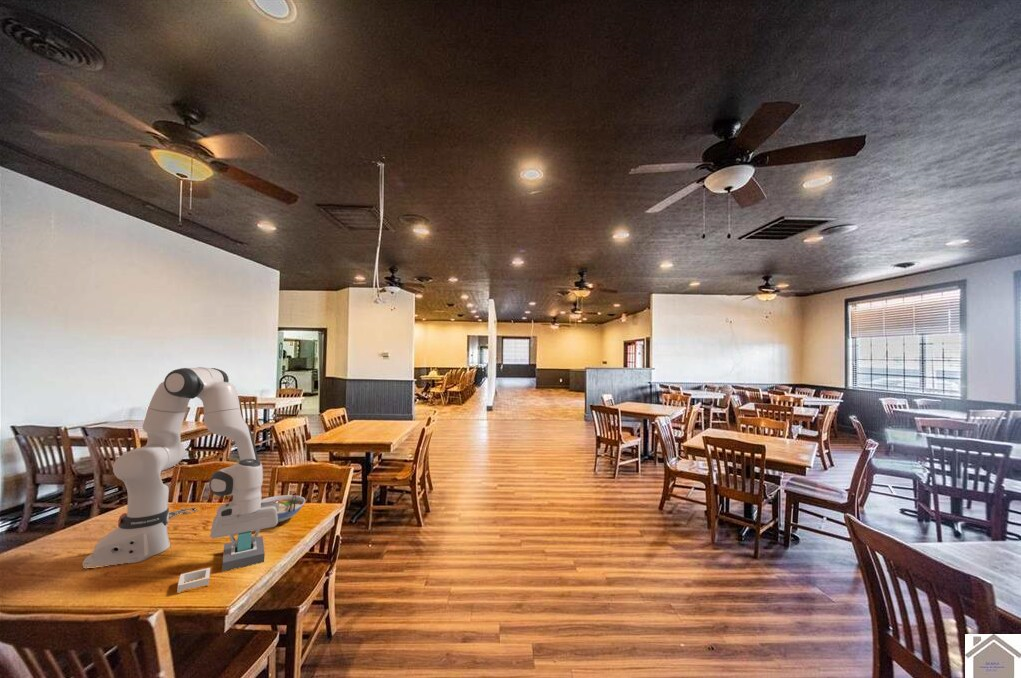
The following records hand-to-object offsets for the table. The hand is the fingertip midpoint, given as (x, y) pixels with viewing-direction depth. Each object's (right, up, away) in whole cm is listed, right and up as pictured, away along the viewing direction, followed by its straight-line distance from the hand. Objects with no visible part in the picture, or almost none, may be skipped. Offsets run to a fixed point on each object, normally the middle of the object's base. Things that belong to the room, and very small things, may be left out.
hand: (244, 543), depth 139 cm
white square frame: (-4, -3, -18) cm, 18 cm away
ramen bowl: (-8, -7, +31) cm, 33 cm away
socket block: (0, -5, 0) cm, 5 cm away
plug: (0, -4, 0) cm, 4 cm away
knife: (-55, -6, +27) cm, 62 cm away
